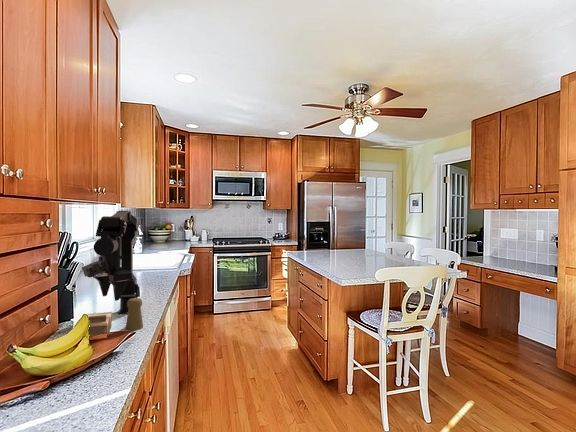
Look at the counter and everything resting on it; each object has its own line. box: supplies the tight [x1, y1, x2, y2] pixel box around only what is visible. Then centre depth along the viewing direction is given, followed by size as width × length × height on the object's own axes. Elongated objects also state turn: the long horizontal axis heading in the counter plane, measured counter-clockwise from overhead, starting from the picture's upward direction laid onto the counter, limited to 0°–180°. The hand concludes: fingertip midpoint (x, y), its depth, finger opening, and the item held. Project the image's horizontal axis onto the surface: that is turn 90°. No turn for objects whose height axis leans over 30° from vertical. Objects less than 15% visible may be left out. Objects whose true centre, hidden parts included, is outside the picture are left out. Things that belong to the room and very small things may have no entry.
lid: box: [86, 311, 113, 327], centre depth 113 cm, size 12×8×3 cm, turn 22°
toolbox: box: [89, 315, 113, 337], centre depth 113 cm, size 12×8×4 cm, turn 22°
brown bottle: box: [125, 297, 144, 332], centre depth 119 cm, size 6×6×11 cm
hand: (110, 298), depth 109 cm, fingers open, 9 cm apart
